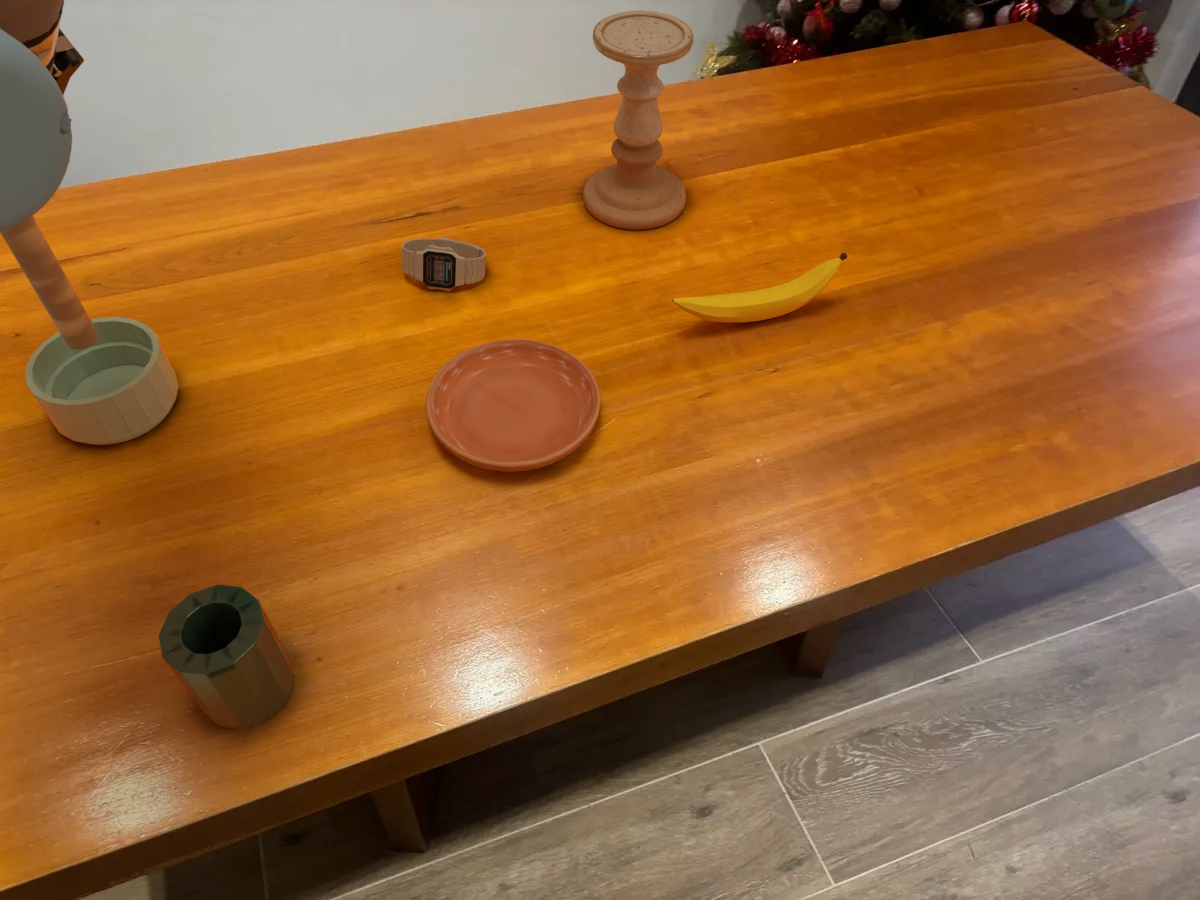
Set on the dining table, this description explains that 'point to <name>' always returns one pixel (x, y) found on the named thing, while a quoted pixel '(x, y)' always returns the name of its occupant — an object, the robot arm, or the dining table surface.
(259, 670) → the holder
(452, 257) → the wristwatch
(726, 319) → the banana
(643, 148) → the candle holder
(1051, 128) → the dining table surface
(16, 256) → the stick
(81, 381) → the bowl
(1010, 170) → the dining table surface
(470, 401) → the saucer
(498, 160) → the dining table surface
